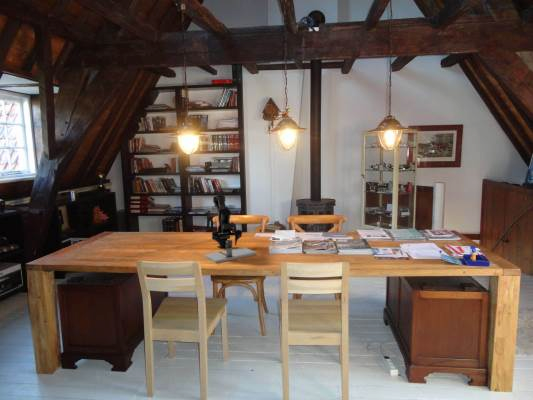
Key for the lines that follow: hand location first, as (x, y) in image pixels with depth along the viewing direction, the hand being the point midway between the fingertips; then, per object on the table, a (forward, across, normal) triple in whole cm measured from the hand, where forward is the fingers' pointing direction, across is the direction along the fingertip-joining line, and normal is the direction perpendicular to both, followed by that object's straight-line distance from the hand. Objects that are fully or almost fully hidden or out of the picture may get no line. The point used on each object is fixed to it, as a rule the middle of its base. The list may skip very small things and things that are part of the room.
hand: (228, 246), depth 242 cm
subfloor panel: (+2, +2, +9) cm, 10 cm away
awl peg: (+6, 0, +3) cm, 6 cm away
